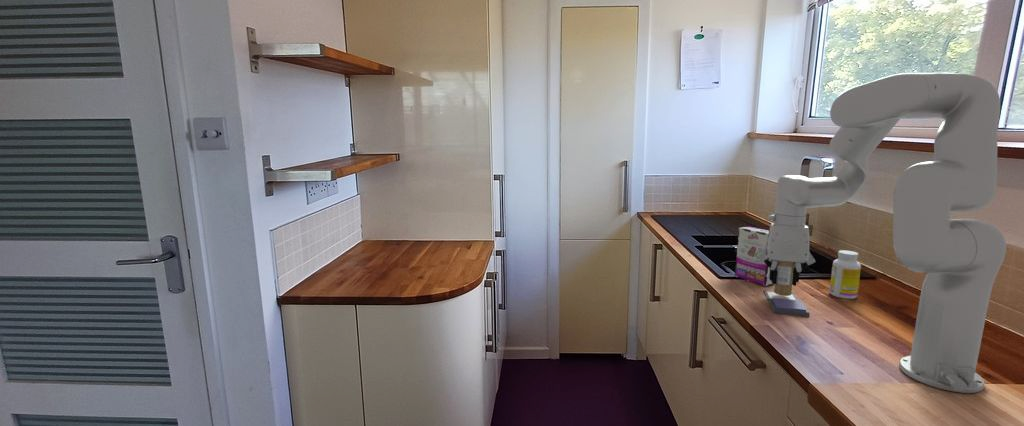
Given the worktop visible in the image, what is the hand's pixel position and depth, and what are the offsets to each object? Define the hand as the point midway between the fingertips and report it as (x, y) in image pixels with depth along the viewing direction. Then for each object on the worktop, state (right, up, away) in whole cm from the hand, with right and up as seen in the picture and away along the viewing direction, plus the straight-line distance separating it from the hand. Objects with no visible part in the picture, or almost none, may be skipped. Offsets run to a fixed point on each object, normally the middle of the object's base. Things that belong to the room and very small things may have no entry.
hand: (783, 282), depth 136 cm
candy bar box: (0, -2, +16) cm, 16 cm away
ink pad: (-3, -6, -7) cm, 10 cm away
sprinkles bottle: (0, -3, +1) cm, 3 cm away
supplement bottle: (+18, -4, +2) cm, 19 cm away
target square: (0, -4, +1) cm, 5 cm away
